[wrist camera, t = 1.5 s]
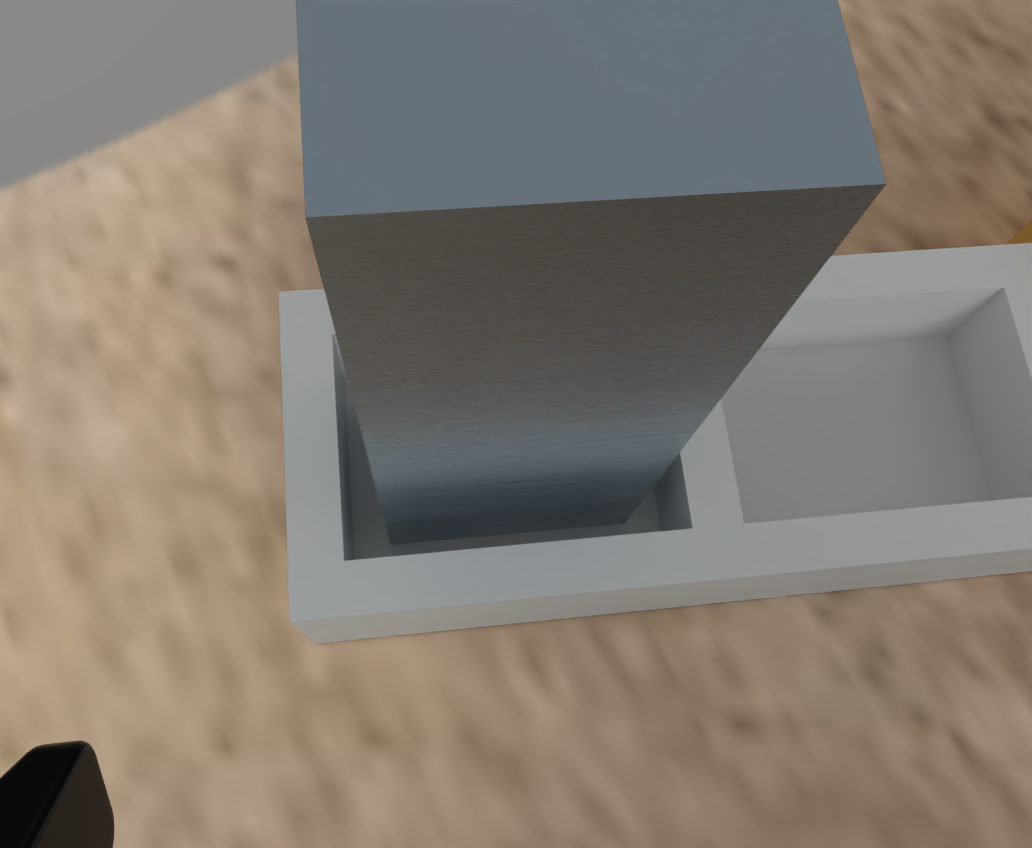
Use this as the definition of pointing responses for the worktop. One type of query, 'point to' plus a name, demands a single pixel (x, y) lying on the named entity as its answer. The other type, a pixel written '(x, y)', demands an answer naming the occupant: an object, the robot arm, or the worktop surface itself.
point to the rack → (718, 467)
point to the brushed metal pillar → (564, 232)
